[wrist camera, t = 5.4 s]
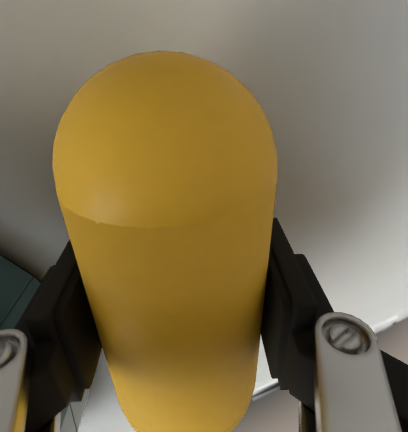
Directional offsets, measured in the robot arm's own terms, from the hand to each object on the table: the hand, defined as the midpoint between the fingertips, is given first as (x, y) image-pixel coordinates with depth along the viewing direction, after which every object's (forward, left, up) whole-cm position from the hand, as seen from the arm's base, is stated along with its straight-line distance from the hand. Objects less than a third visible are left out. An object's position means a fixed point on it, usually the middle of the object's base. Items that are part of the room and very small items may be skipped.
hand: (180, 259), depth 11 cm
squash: (0, 0, -1) cm, 1 cm away
